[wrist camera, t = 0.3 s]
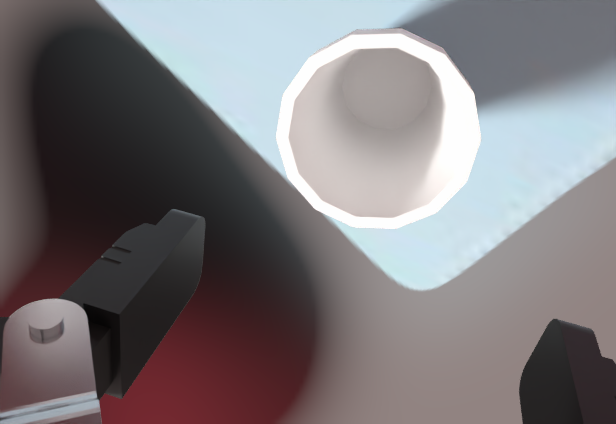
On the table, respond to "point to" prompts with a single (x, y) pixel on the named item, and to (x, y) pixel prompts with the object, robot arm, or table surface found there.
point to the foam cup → (378, 129)
